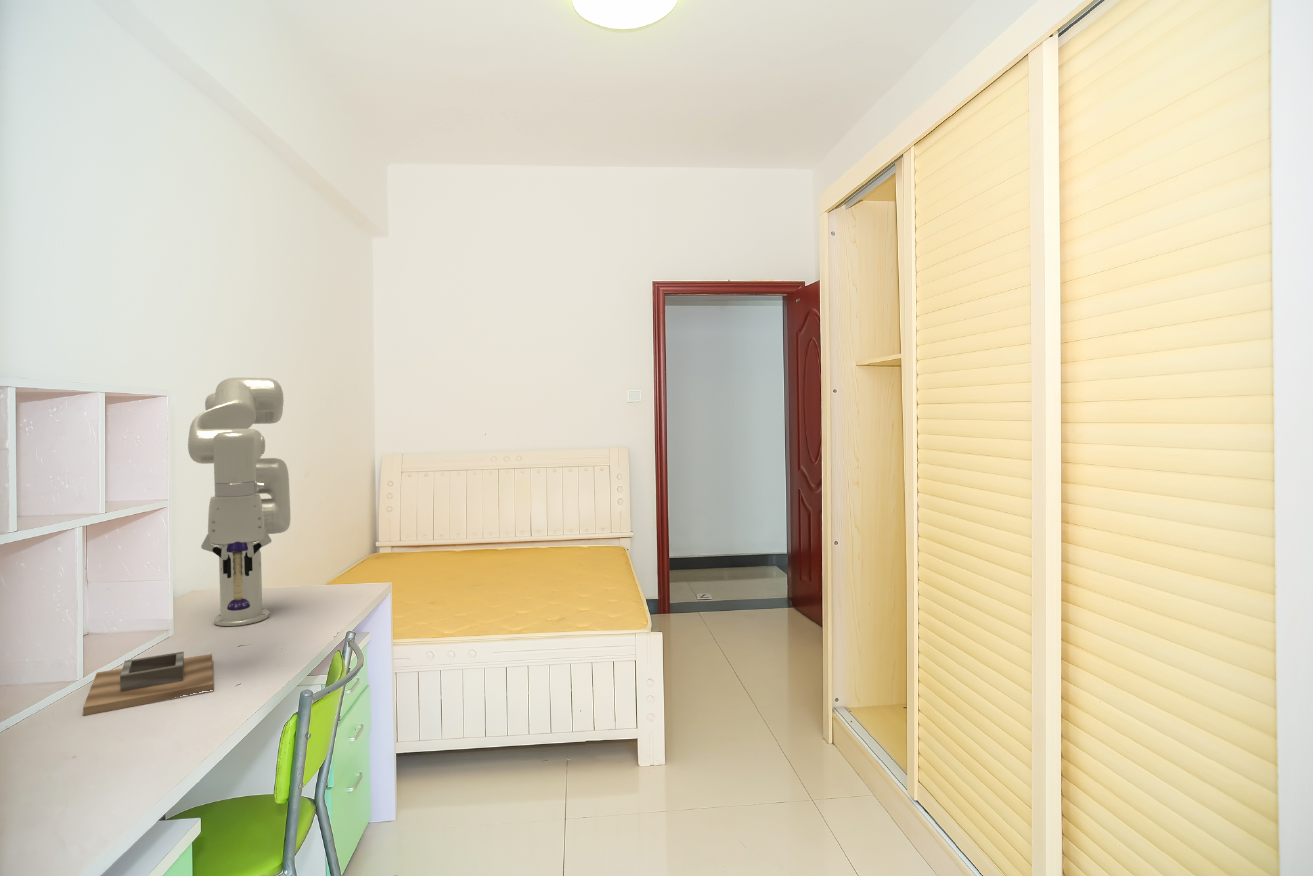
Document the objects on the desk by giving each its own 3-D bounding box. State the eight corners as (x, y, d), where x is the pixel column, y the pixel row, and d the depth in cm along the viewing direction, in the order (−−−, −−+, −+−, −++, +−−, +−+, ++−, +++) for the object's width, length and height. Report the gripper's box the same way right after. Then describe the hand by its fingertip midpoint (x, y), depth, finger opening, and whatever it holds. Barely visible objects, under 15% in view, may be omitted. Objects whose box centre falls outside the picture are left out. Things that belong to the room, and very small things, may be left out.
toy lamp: (256, 606, 151) (254, 529, 149) (237, 612, 146) (234, 534, 145) (240, 603, 152) (237, 528, 151) (220, 610, 148) (217, 532, 147)
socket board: (97, 679, 144) (96, 658, 144) (212, 660, 155) (211, 640, 155) (83, 715, 127) (82, 691, 127) (213, 691, 138) (212, 668, 138)
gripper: (277, 485, 155) (279, 567, 156) (189, 490, 146) (192, 576, 148) (280, 489, 149) (282, 574, 150) (189, 495, 140) (192, 585, 141)
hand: (238, 575), depth 149 cm, fingers closed on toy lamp, 2 cm apart
